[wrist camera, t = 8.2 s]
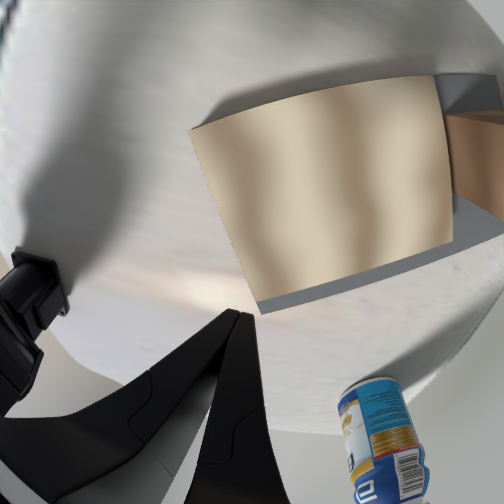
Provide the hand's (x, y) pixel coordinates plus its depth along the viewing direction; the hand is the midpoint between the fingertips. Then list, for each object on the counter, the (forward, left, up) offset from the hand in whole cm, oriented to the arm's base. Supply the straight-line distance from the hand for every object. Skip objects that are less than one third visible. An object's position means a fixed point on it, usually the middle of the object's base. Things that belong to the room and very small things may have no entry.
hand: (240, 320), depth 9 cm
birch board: (+6, +3, -11) cm, 13 cm away
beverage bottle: (+18, -21, -12) cm, 30 cm away
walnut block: (+14, +7, -8) cm, 17 cm away
